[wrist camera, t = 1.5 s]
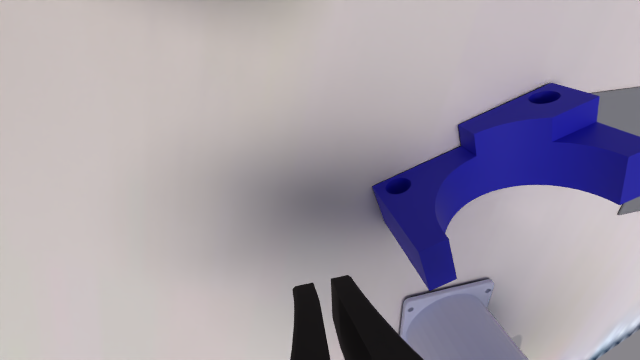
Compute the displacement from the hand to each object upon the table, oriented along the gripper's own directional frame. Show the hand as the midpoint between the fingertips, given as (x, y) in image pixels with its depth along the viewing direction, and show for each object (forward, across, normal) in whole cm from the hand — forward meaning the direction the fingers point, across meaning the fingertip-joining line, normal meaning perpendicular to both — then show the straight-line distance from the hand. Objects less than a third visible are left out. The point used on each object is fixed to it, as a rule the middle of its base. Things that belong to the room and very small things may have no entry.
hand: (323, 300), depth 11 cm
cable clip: (+8, -11, 0) cm, 14 cm away
